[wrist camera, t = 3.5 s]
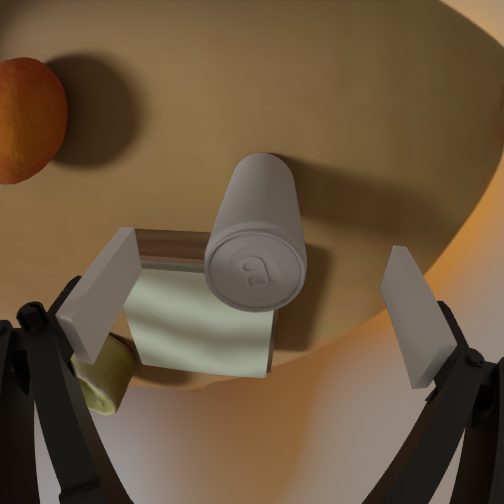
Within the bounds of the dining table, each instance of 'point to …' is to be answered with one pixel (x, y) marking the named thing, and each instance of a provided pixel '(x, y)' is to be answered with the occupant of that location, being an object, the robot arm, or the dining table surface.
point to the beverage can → (257, 238)
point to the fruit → (29, 118)
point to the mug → (106, 376)
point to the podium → (192, 313)
